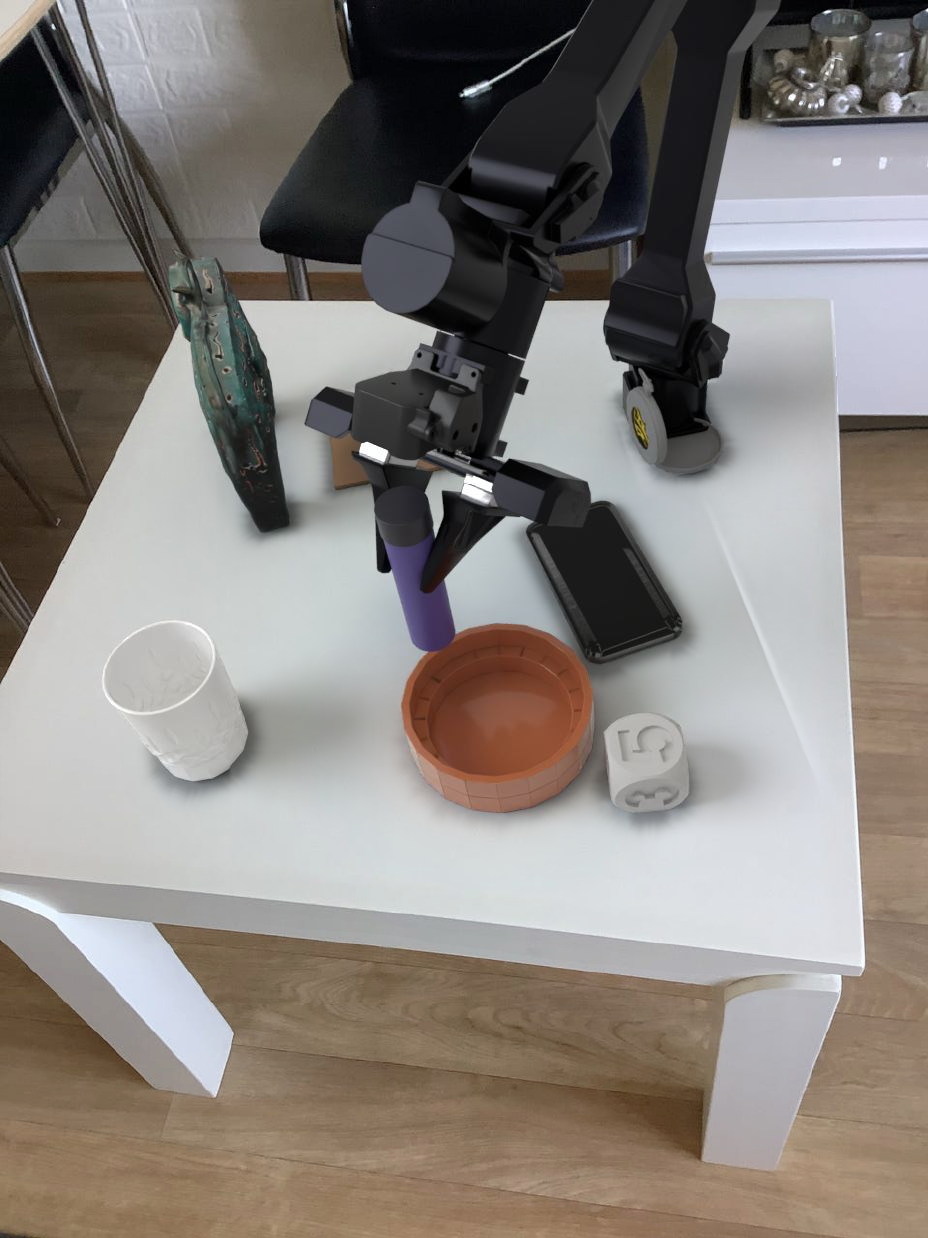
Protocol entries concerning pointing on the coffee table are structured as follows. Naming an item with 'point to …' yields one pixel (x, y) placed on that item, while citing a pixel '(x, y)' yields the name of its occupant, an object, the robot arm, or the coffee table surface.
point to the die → (646, 763)
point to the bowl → (499, 717)
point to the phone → (604, 585)
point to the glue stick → (414, 565)
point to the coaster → (353, 463)
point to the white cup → (177, 698)
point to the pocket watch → (672, 452)
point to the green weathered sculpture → (231, 385)
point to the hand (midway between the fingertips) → (403, 582)
